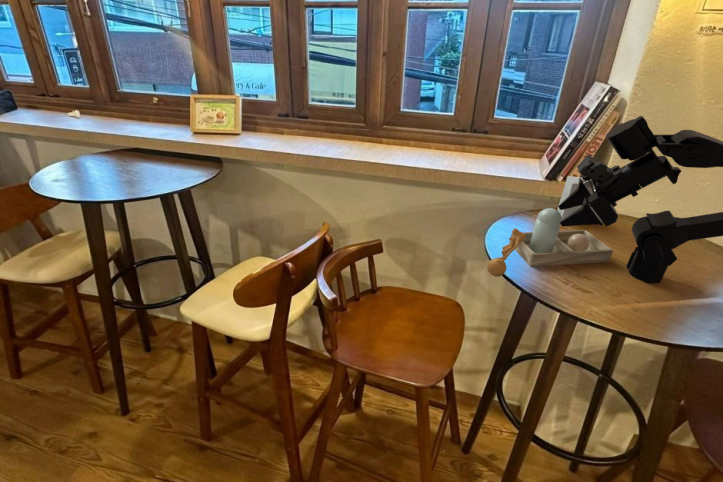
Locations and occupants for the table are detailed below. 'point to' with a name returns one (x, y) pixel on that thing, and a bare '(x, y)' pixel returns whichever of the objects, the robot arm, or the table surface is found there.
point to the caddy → (565, 251)
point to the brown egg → (578, 242)
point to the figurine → (505, 254)
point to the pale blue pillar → (545, 231)
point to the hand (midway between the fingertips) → (560, 216)
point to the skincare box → (568, 190)
